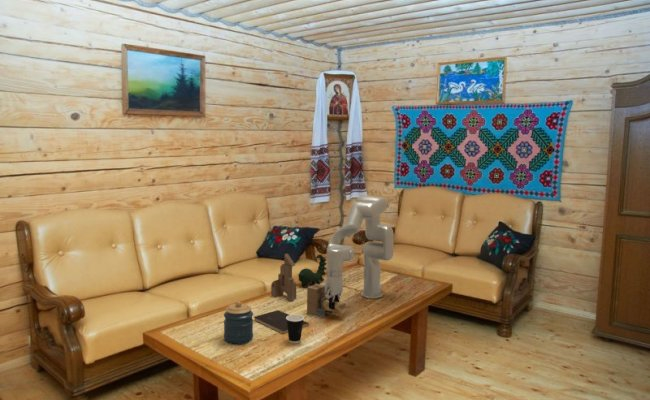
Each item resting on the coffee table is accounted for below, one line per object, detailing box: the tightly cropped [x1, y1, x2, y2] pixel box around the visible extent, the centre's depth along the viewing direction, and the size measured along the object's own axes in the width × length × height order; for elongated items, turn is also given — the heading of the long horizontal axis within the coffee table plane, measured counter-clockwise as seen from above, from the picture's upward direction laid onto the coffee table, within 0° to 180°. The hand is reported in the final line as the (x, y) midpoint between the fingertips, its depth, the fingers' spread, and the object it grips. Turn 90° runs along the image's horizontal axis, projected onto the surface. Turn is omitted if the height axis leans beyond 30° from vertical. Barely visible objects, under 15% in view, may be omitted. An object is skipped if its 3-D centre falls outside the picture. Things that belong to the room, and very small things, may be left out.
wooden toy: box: [270, 253, 297, 302], centre depth 281 cm, size 16×7×25 cm, turn 52°
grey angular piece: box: [306, 283, 334, 319], centre depth 257 cm, size 8×11×14 cm
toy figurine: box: [297, 253, 328, 288], centre depth 307 cm, size 9×19×25 cm
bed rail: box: [321, 297, 347, 314], centre depth 253 cm, size 13×4×5 cm, turn 54°
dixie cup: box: [286, 314, 305, 344], centre depth 222 cm, size 8×8×11 cm
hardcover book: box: [253, 309, 309, 335], centre depth 244 cm, size 16×23×2 cm
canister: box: [223, 300, 254, 346], centre depth 223 cm, size 13×13×18 cm
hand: (333, 307), depth 253 cm, fingers closed on bed rail, 3 cm apart
